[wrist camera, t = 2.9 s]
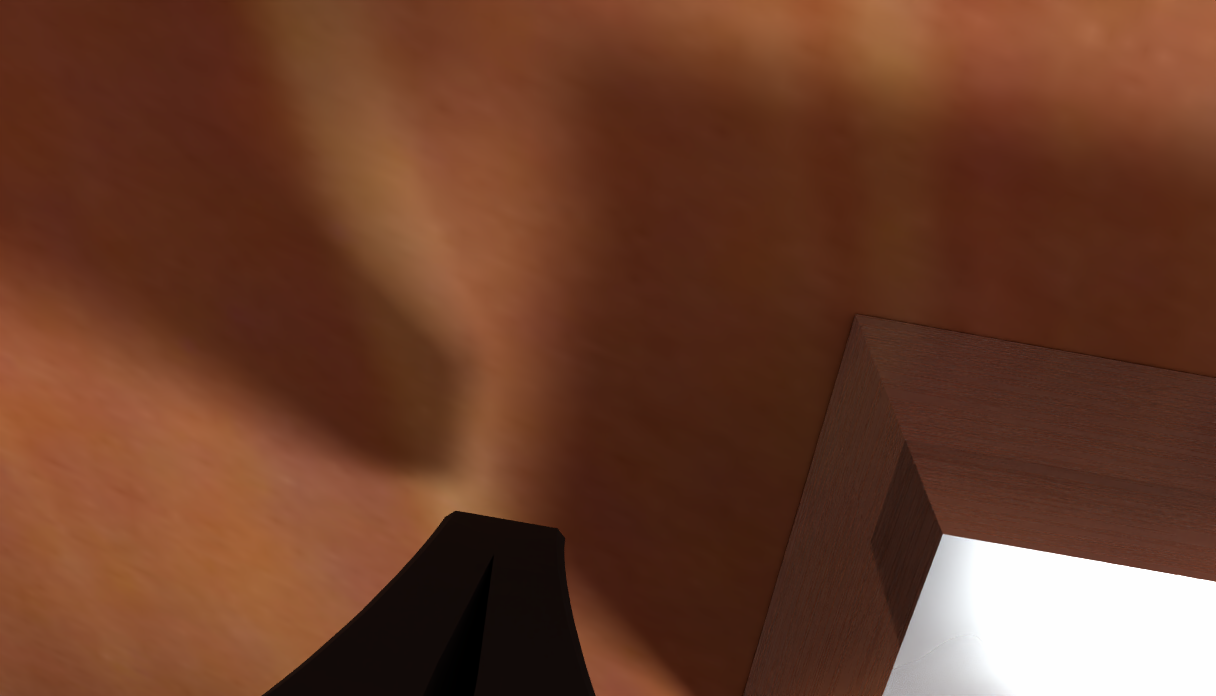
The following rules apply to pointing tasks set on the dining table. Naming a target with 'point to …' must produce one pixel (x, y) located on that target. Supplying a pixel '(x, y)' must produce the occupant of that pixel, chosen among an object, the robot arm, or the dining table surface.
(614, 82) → the dining table surface
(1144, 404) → the block
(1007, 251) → the dining table surface
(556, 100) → the dining table surface
